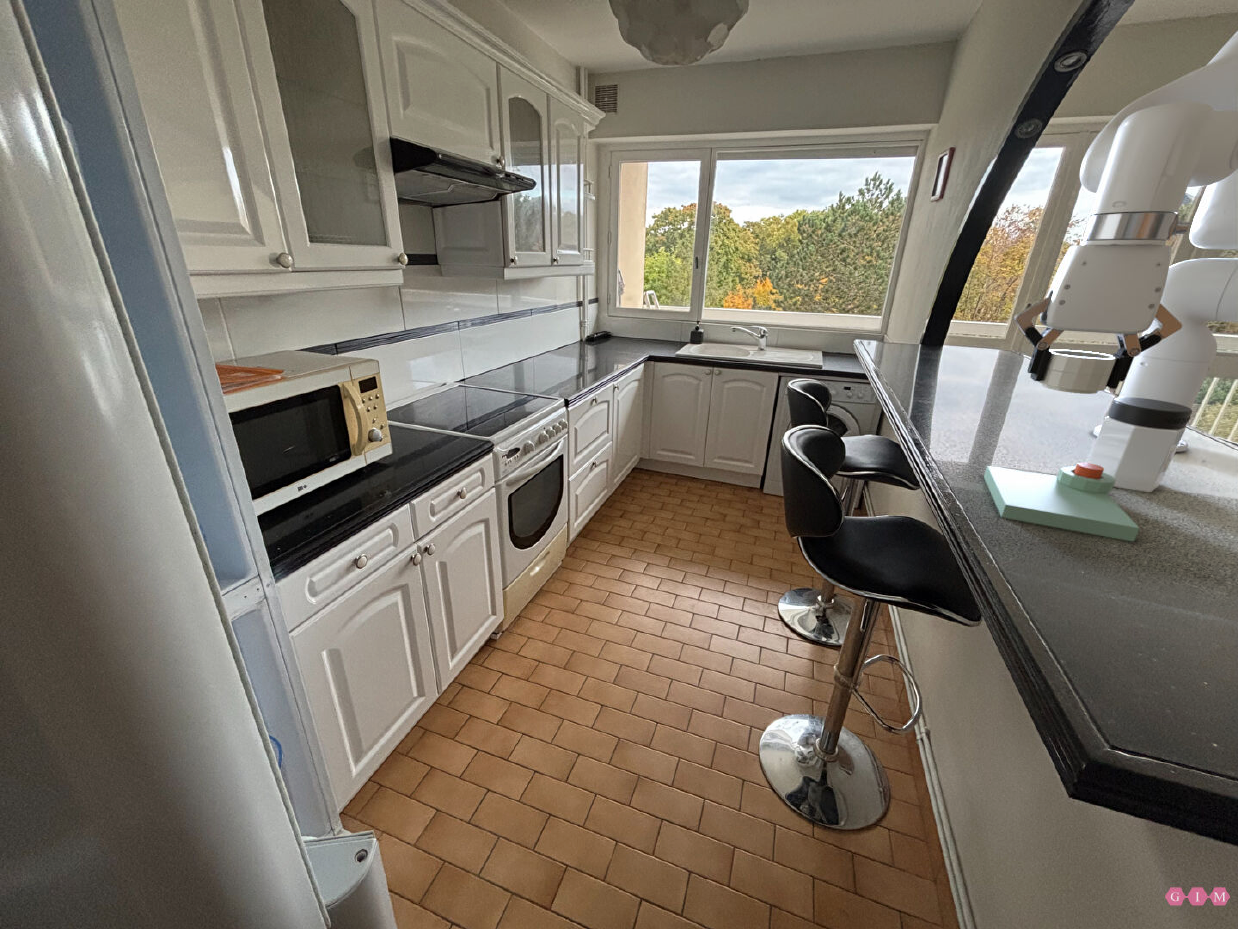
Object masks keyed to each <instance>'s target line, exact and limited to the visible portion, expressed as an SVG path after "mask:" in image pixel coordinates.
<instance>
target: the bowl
mask: <svg viewBox="0 0 1238 929" xmlns="http://www.w3.org/2000/svg"><path fill="white" fill-rule="evenodd" d="M1049 351H1051V356H1050V359H1049V362H1048V365H1047V368H1046V371H1045V374H1044V377H1043V380H1042V381H1037V383H1039V384H1041V386H1042V387H1043V388H1046V389H1049V390H1052V391H1053V390H1054V391H1058V392H1063V393H1070V394H1080V395H1081V394H1084V395H1093V394H1097V393H1098V392H1101V391H1102V392H1104V391H1105V390H1106V389H1107V388H1108V387H1107V385H1108V382H1109V379H1110V377H1111V374H1112V372H1113V369H1114V366H1115V364H1116V361H1117V359H1118V357H1115V356H1112V354H1106V353H1099V352H1092V351H1083V350H1073V349H1072V350H1070V349H1049Z"/></svg>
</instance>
